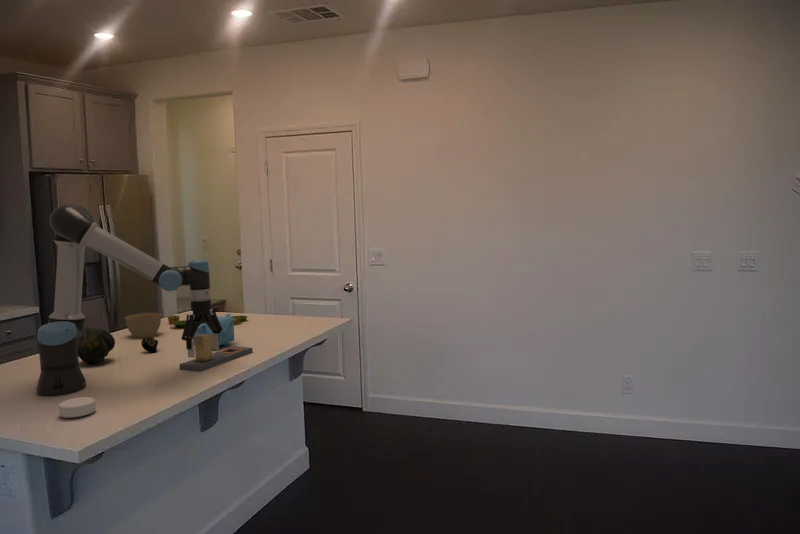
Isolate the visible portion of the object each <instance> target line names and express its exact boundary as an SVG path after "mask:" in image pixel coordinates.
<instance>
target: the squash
mask: <svg viewBox="0 0 800 534" xmlns="http://www.w3.org/2000/svg"><path fill="white" fill-rule="evenodd" d="M84 327H85V331H86V337H85V340H84V342H83V344H82V345H81V346H80V347H79V348H78V359H79V360H81V361H82V362H83V363H86V364H89V365H92V364H96V363H101V362H103V361H104V360H105V358H107V357H108V355H109V353H110V352H111V351H112V350H113V349H114V348H115V346H116V345H115V344H116V340H115V338H114V336H113V335H112V334H111V333H110V332H109V331H107V330H105V329H103V328H97V327H96V328H95V327H88V326H87V327H86V326H84Z"/></svg>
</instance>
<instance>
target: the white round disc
mask: <svg viewBox="0 0 800 534" xmlns="http://www.w3.org/2000/svg"><path fill="white" fill-rule="evenodd" d="M96 409H97V407H96V399H95V398H93V397H89V396H88V397H87V396H84V397H83V396H81V397H74V398H70V399H67V400H64V401H61V402H60V403H59V404H58V411H59V414H58V415H59V416H60V417H62V418H66V419H67V418H68V419H69V418H70V419H73V418H80V417H85V416H87V415H90V414H92V413H94V412H95V411H96Z"/></svg>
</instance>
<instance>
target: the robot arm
mask: <svg viewBox="0 0 800 534" xmlns="http://www.w3.org/2000/svg"><path fill="white" fill-rule="evenodd" d="M49 225H50V229H51V230H52V231H53V242H54V243H55V244H56V245H57V260H56V275H55V293H54V307H53V309H54V310H53V312H52V313H50V315H48V323H46V324H43V325H41V326H40V327H39V328H38V330H37V336H36V337H37V341H38V343H37V344H38V354H39V365H40V374H39V377H38V381H37V386H36V388H35V389H36V390H35V391H36V395H38V396H39V397H59V396H67V395H70V394H71V395H72V394H74V393H77V392H81V391H83V390H85V389H86V388H87V381H86V379H85V377H84V375H83V372H82V369H81V368H80V362H79V361H80V358H79V356H78V348H79V347H80V346H81V345H82V344H83V342H84V340H85V337H86V331H85V327H86V326H85V324H86V323H85V322H86V316H85V315H84V314H83V312H82V311H81V310H82V301H83V300H82V297H83V296H82V295H83V283H84V282H83V280H84V279H83V278H84V266H85V250H86V249H85V248H86V247H89V248H90V249H92V250H94V251H96V252H98V253H100V254H101V255H103V256H105V257H106V258H108V259H110V260H112V261H114V262H116V263H118V264H120V265H121V266H123V267H124V268H127V269H129V270H130V271H132V272H134V273H136V274H138V275H139V276H142V277H143V278H145V279H147V280H149V281H151V282H152V283H154V284H156V286H157V288H161V289H163V290H165V291H167V292H174V291H177V290H178V289H179V288H180V287H182V286H184V287H185V286H186V287H187V286H189V298H190V299H189V300H191V301H190V310H191V311H192V314H187V315H186V319H185V320H186V324H185V328H183V332H182V335H181V340H182V341H183V342H184V341H185V343H186V344H185V345H186V350H187V358H192V359H195V358H196V355H195V346H194V341H193V337H194V335H195V333H196V331H197V329H198V326H200V324H203V323H206V324H207V325H208V327H209V328H210V329H211V331H212V332H213V333H212V334H211V337H212V351H214V350H215V351H220V349H219V348H220V346H219V345H218V341H219V333H221V331H222V327H221V325H220V322H219V320H218V318H217V316H218V315H217V311H216V309H214V308H213V309H212V301H211V282H210V280H211V279H210V278H211V277H210V268H209V262H208V260H205V259H197V260H196V259H195V260H189V261H188V263H187V265H186V266H168V265H167V264H165V263H162V261H159V260H158V259H156V258H154V257H152V256H151V255H149V254H147V253H146V252H144V251H142V250H140V249H139V248H136V247H135V246H133V245H131V244H130V243H127V242H126V241H125V240H123V239H121V238H119V237H117V236H115V235H114V234H111V232H108V230H107V231H106V230H105V229H103V228H101V227H100V226H99V225H98V223H97V221H95V220H94V219H93V216H92V214H91V213H90V212H89V211H88V210H87V208H85V207H83V206H82V205H76V204H62V205H59V206H57V207H56V208H54V209H53V211H52V212H51V213H50V216H49ZM195 322H196V323H195Z"/></svg>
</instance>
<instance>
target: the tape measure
mask: <svg viewBox="0 0 800 534" xmlns="http://www.w3.org/2000/svg"><path fill="white" fill-rule="evenodd" d="M140 343H141V347H142V348H143V349H144V350H145V351H146V352H149V353H151V354H155V353H156V352H157V349H158V344H159V340H158V339H155V338H154V337H149V336H148V337H145V338H142V340H141V341H140Z"/></svg>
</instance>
